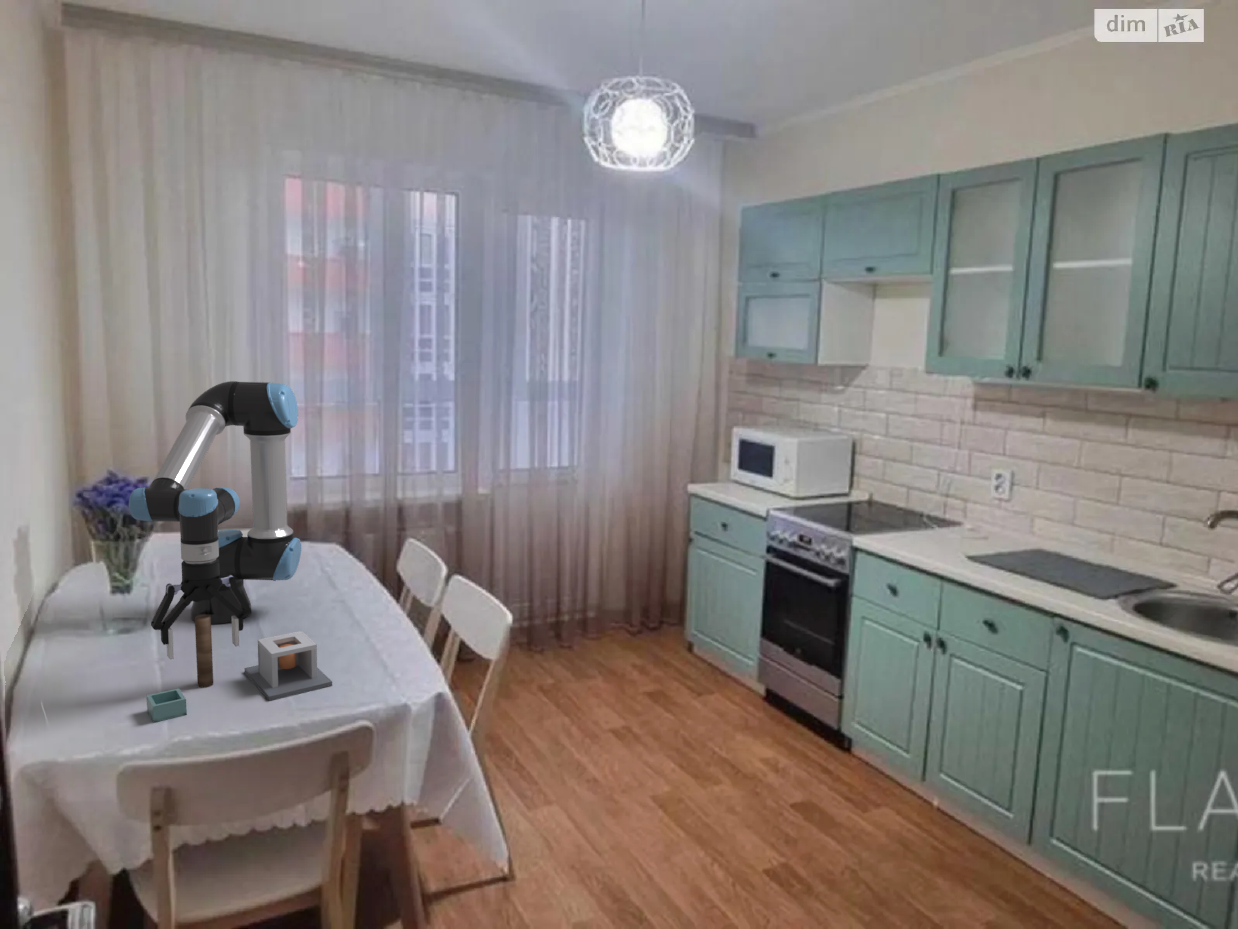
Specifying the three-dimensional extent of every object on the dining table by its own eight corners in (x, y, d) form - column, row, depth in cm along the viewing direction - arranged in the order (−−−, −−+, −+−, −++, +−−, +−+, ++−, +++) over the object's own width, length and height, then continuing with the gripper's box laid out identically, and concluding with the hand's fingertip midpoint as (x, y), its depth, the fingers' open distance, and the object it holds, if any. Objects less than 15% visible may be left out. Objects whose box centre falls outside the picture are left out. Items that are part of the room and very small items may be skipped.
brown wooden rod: (196, 683, 194) (193, 616, 191) (211, 680, 196) (208, 613, 193) (199, 688, 191) (196, 620, 189) (215, 685, 193) (212, 618, 191)
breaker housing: (244, 672, 201) (243, 635, 199) (304, 659, 210) (303, 624, 208) (269, 701, 187) (268, 662, 186) (332, 685, 196) (331, 648, 194)
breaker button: (276, 664, 198) (276, 646, 197) (293, 661, 201) (292, 643, 200) (281, 670, 195) (281, 651, 194) (298, 666, 198) (298, 648, 197)
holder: (147, 711, 180) (146, 695, 180) (179, 703, 184) (178, 688, 184) (153, 722, 176) (152, 706, 175) (186, 714, 179) (186, 699, 179)
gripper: (140, 572, 178) (145, 668, 181) (264, 555, 194) (266, 644, 197) (132, 563, 183) (137, 657, 187) (254, 547, 199) (256, 634, 203)
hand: (203, 651), depth 192 cm, fingers open, 13 cm apart
